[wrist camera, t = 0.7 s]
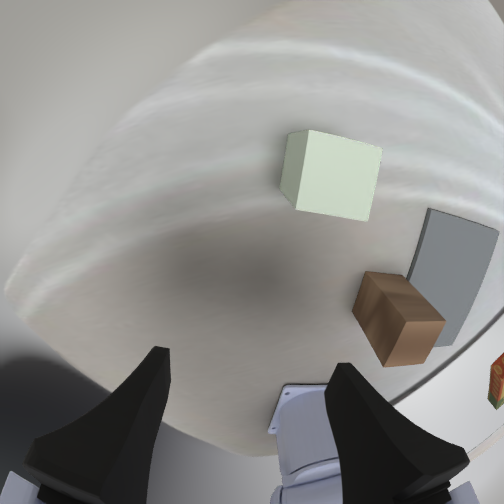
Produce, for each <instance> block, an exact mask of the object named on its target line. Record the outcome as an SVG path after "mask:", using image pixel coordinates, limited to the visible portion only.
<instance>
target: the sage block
mask: <svg viewBox="0 0 504 504" xmlns="http://www.w3.org/2000/svg"><path fill="white" fill-rule="evenodd" d="M382 149H383V148H380V147H377V146H373V145H370V144H366V143H363V142H359V141H355V140H352V139H348V138H344V137H340V136H336V135H332V134H327V133H323V132H319V131H314V130H304V131H299V132H295V133H290V134H288V138H287V145H286V151H285V157H284V164H283V170H282V176H281V182H280V188H279V189H280V191H281V192H282V193H283V194H284V196H285V197H286V198H287V199H288V201H289V202H290V203H291V204H292V206H293V207H294V208H295V210H301V211H308V212H314V213H320V214H326V215H332V216H338V217H344V218H349V219H355V220H361V221H366V222H367V221H368V217H369V213H370V209H371V204H372V200H373V195H374V191H375V186H376V181H377V176H378V171H379V166H380V160H381V155H382Z"/></svg>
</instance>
